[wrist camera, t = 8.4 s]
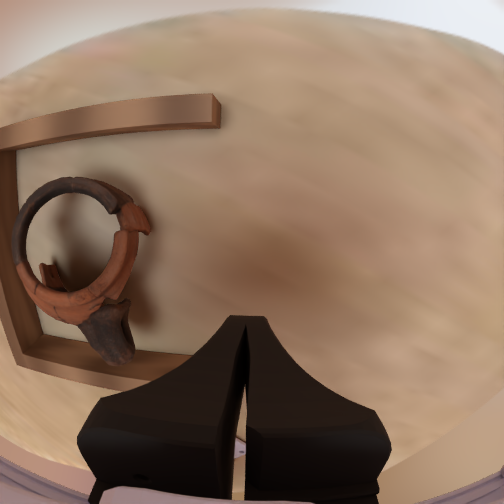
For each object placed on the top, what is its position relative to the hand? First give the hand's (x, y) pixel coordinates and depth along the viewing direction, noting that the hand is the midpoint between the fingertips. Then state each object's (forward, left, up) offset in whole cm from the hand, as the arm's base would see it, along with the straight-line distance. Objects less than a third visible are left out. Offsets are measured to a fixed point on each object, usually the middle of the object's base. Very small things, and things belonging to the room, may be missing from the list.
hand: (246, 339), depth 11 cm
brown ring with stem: (-8, +7, -10) cm, 14 cm away
